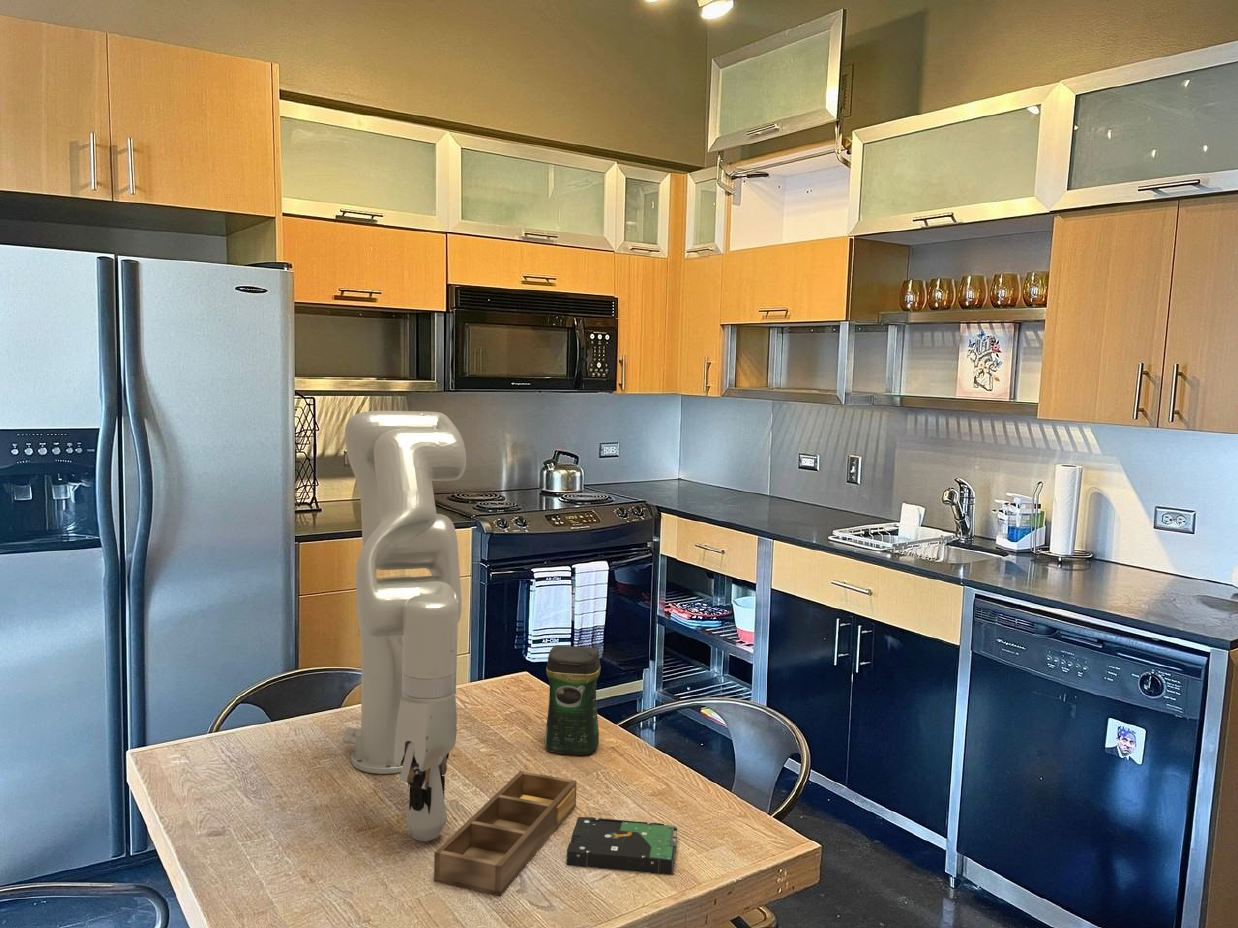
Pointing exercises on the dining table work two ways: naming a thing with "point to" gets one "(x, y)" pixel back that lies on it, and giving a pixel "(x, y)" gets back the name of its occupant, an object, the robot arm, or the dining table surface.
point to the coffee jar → (572, 700)
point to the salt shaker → (433, 823)
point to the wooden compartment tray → (505, 833)
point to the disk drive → (623, 845)
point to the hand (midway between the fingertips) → (426, 805)
